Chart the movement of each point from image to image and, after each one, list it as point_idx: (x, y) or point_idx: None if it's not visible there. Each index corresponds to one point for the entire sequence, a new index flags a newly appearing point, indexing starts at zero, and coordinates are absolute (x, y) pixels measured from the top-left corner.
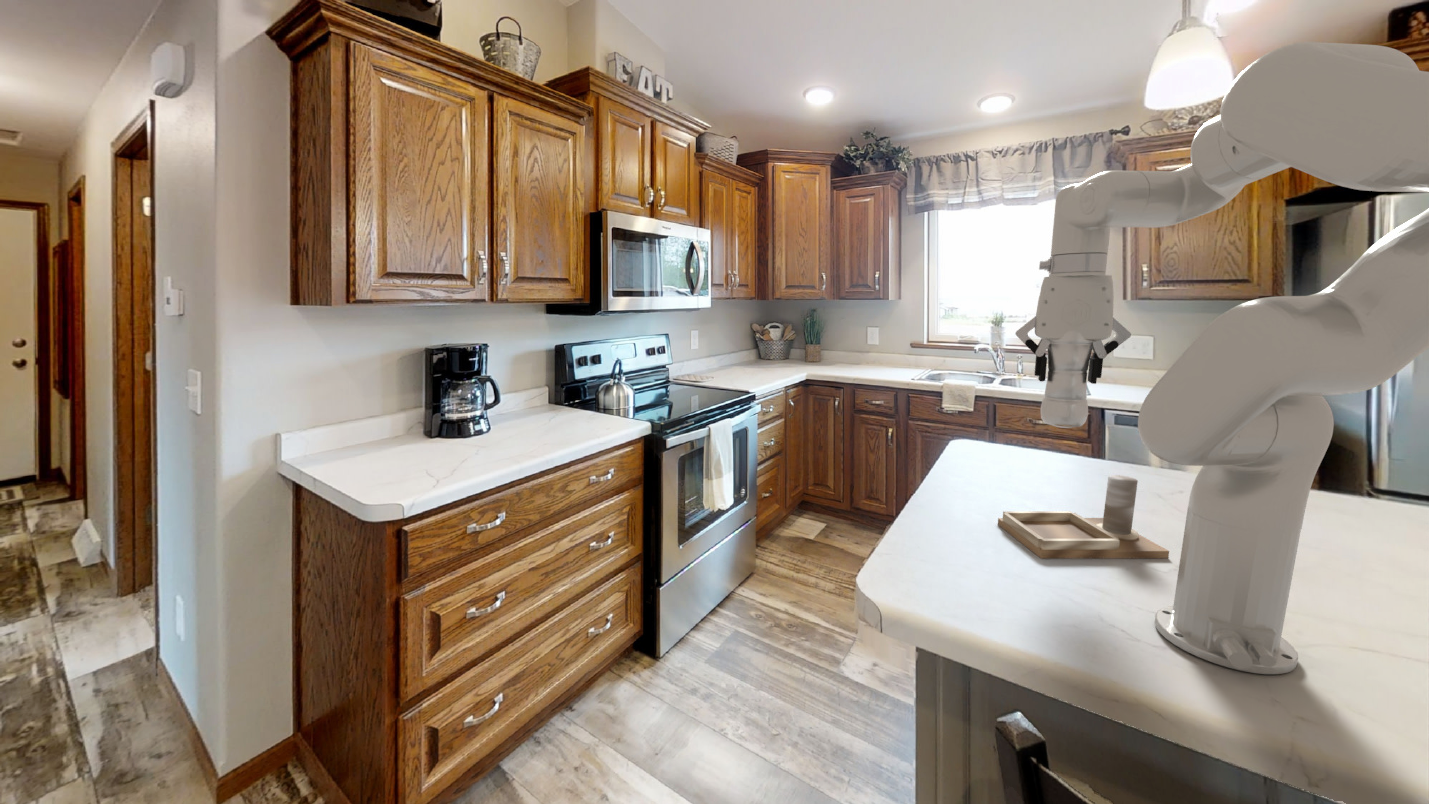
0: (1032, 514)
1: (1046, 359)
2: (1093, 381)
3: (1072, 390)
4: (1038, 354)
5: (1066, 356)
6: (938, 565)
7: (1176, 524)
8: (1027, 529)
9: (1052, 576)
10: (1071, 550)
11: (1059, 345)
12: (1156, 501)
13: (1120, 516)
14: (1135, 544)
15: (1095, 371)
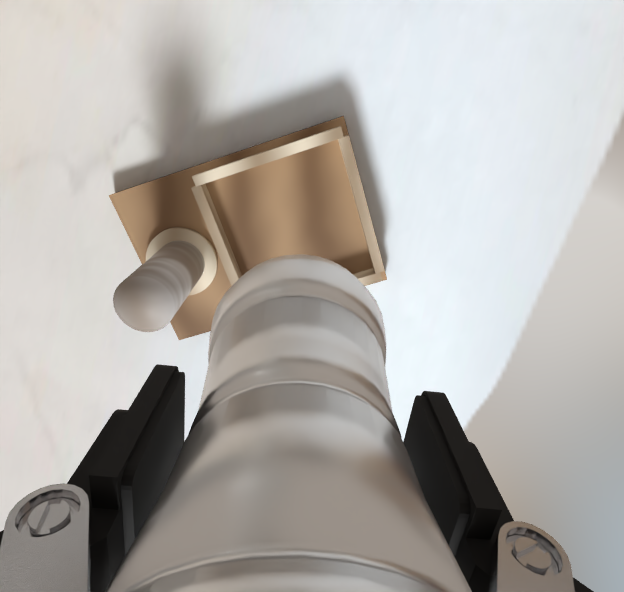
0: None
1: (462, 493)
2: (170, 367)
3: (286, 319)
4: (529, 545)
5: (345, 460)
6: (557, 9)
7: (67, 366)
8: (358, 185)
9: (342, 27)
10: (285, 140)
11: (431, 567)
12: None
13: (171, 251)
14: (160, 211)
15: (143, 405)
